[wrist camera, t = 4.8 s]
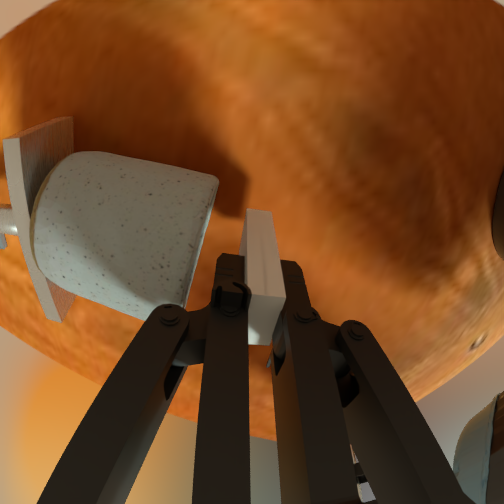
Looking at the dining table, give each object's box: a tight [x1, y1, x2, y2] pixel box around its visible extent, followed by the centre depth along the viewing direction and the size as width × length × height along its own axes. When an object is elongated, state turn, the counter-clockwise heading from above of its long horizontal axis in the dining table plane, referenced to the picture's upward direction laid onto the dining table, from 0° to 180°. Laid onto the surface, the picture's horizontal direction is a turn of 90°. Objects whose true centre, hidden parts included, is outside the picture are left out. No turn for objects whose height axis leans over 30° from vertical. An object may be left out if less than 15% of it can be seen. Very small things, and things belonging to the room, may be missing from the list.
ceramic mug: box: [29, 151, 219, 321], centre depth 14 cm, size 11×8×8 cm
